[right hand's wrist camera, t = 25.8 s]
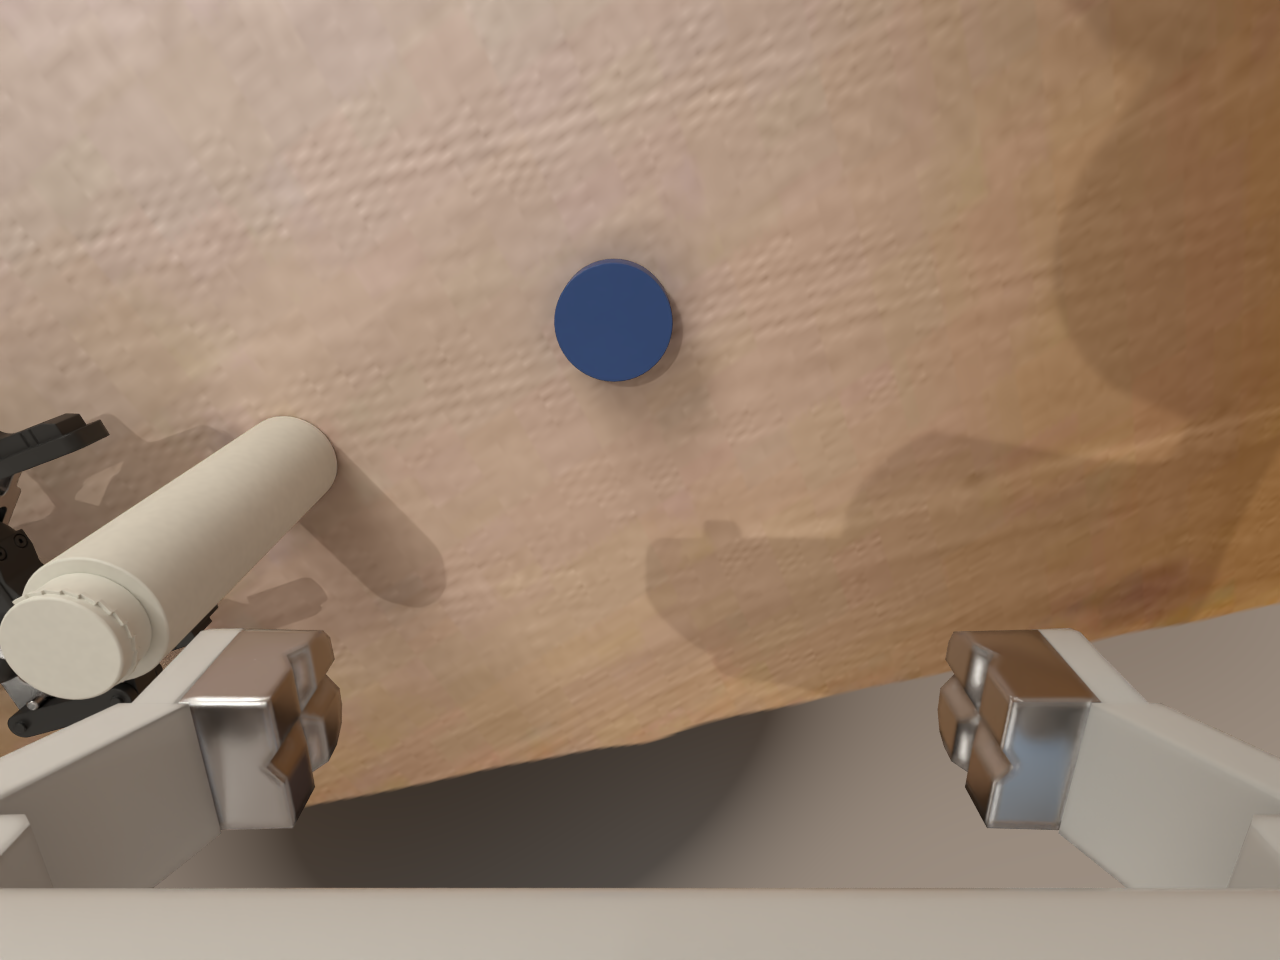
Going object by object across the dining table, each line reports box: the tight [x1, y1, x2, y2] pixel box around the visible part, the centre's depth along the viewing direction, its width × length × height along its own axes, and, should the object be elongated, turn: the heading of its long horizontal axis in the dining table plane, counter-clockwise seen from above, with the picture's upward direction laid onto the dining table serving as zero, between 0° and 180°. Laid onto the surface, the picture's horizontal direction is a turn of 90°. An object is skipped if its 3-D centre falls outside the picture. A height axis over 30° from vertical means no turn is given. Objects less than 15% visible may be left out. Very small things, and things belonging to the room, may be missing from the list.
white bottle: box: [0, 416, 337, 700], centre depth 31 cm, size 4×4×17 cm
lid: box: [554, 259, 673, 382], centre depth 35 cm, size 5×5×2 cm
